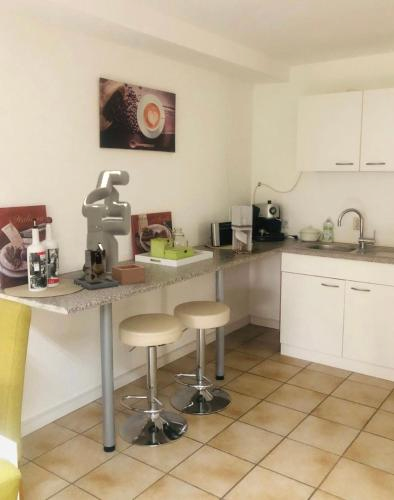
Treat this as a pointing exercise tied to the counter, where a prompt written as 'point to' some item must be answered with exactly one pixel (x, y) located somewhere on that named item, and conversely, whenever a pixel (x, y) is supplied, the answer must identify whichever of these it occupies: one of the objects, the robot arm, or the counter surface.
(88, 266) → the coffee box
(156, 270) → the counter surface
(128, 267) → the terracotta open box
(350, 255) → the counter surface
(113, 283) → the tray
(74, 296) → the counter surface
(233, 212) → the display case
